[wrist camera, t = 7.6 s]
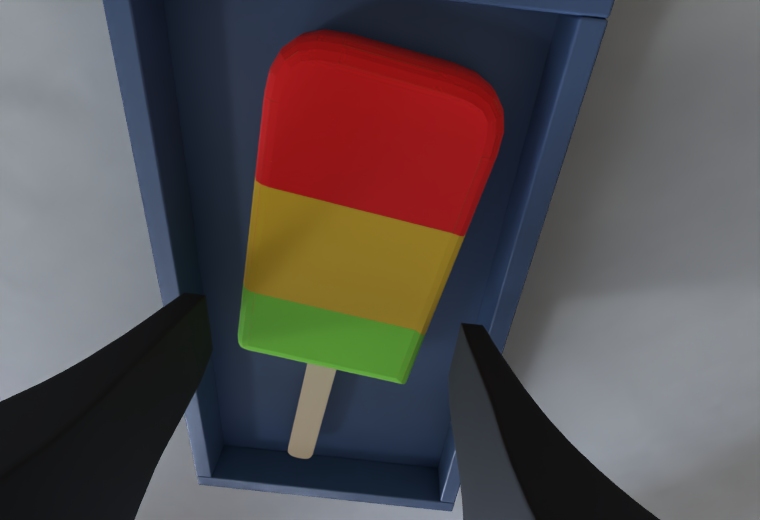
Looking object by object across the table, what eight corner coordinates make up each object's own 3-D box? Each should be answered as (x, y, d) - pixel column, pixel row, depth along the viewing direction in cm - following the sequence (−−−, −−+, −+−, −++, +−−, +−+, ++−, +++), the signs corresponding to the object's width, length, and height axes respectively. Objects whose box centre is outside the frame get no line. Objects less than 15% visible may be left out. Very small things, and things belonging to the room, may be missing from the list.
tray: (448, 466, 20) (452, 512, 18) (216, 441, 20) (198, 485, 18) (586, -18, 10) (621, -17, 9) (139, -68, 10) (86, -75, 9)
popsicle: (513, 74, 11) (530, 92, 9) (369, 448, 19) (365, 492, 17) (287, 10, 11) (265, 18, 9) (236, 420, 19) (220, 463, 17)
